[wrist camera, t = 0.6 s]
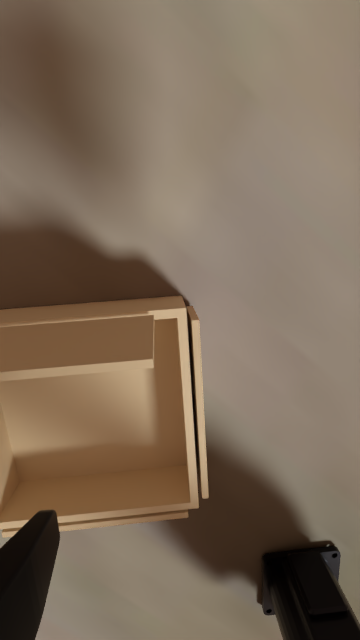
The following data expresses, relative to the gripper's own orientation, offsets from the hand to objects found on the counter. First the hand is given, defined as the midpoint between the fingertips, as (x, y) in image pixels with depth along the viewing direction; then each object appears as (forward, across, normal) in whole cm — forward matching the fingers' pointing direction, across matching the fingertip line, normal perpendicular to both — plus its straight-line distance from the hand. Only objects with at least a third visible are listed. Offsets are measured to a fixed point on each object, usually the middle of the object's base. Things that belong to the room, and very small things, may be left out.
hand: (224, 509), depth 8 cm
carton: (+13, +6, +3) cm, 15 cm away
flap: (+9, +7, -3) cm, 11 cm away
